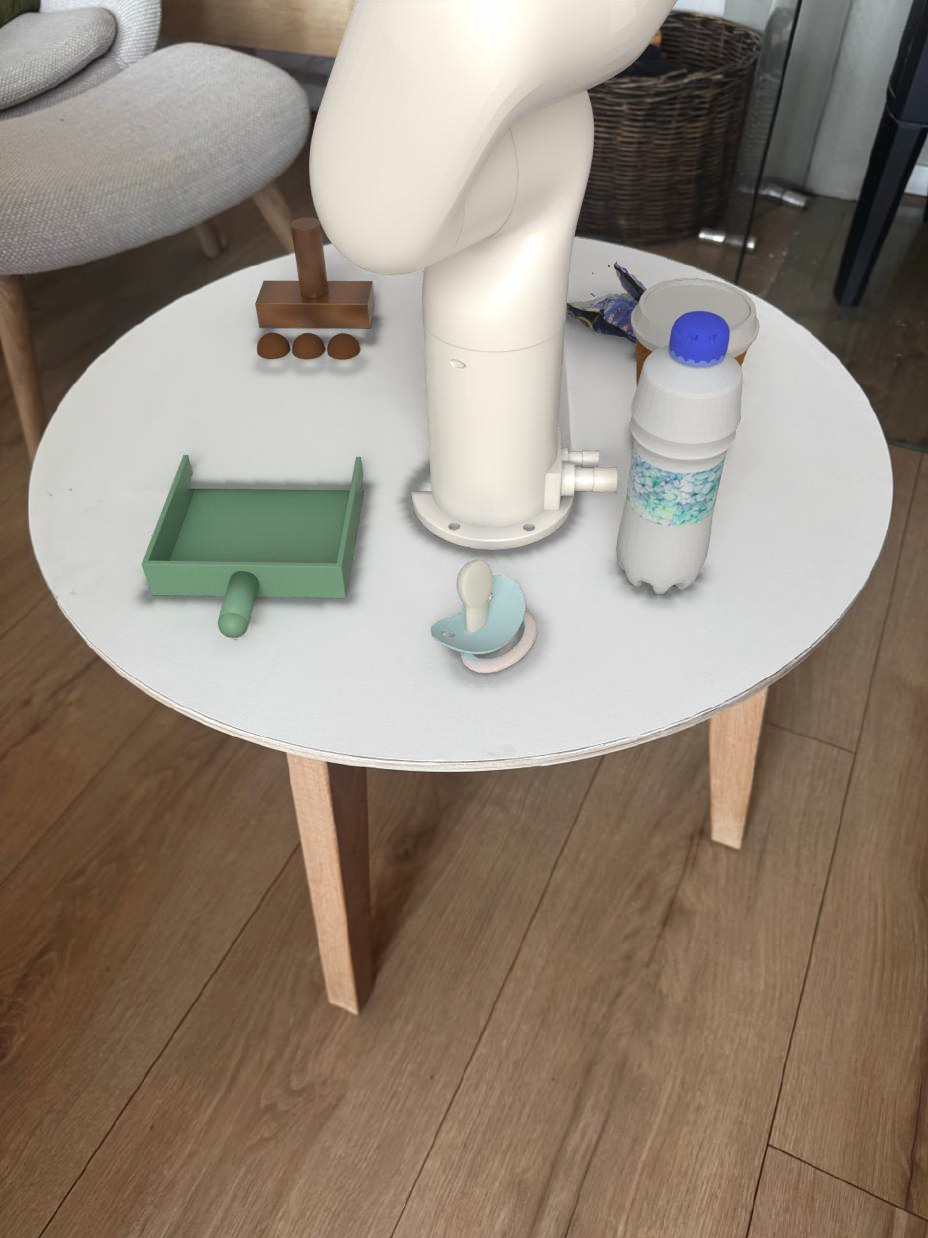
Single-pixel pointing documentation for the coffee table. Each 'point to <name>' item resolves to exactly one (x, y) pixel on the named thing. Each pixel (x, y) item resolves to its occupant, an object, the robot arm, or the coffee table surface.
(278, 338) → the crumb
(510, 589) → the pacifier
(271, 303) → the brush
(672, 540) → the bottle
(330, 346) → the crumb
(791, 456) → the coffee table surface
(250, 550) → the dustpan
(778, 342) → the coffee table surface
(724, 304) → the disposable coffee cup
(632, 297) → the snack package
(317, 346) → the crumb
